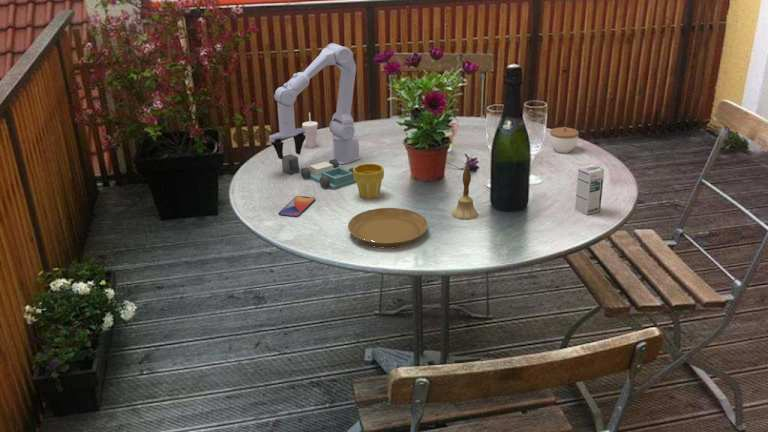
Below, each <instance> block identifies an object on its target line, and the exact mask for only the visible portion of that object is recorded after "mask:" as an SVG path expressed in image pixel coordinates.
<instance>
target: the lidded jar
mask: <svg viewBox="0 0 768 432" xmlns="http://www.w3.org/2000/svg"><path fill="white" fill-rule="evenodd" d="M549 133H550V135H549V140H550V141H549V142H550V145H551V147H552V148H553V149H554V151H555V152H556V153H561V154H568V153H571V151H572V150H573V149H574V148H575V147H576V145H578V144H577V143H578V140H579V139H578V138H579V134H580V133H579V130H577V129H575V128H571V127H566V126H563V127H561V126H560V127H555V128H552V129H550V131H549Z"/></svg>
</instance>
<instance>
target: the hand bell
mask: <svg viewBox="0 0 768 432" xmlns="http://www.w3.org/2000/svg"><path fill="white" fill-rule="evenodd" d="M462 173H463V174H462V184H463V192H462V193H463V194H462V196H460V197H459V198H458V201H457V205H456V207H455V209H453V211H452V212H451V215H452V216H453V218H456V219H459V220H465V221H466V220H473V219H476V218H477V217H478V216H479V212H478V210H476V209H475V206H474V200H473V198H472V197H470V196H469V190H470V184H471V179H472V174H471V171H470V167H468V166H466V167H464V169H463V172H462Z"/></svg>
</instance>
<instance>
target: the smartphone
mask: <svg viewBox="0 0 768 432" xmlns="http://www.w3.org/2000/svg"><path fill="white" fill-rule="evenodd" d="M316 200H317V199H316V197H313V196H303V195H297V196H295V197H293V198H292V200H291V201H289V202H288V203H287V204H286V205H285V206H284V207H283V208H282V209H281V210H280V211H279V212H278V213H277V214H278V216H280V217H288V218H299V217H300V216H302V215H303V214H304V212H306V210H308V209H309V208H310V207H311V206H312V205H313V204H314V203H315V202H316Z"/></svg>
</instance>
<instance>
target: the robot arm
mask: <svg viewBox="0 0 768 432" xmlns="http://www.w3.org/2000/svg"><path fill="white" fill-rule="evenodd" d="M326 66H336V67H338V69H339V70H340V78H339V85H338V86H339V87H338V94H337V103H336V110H335V111H336V112H334V114H333V115H332V117H331V118H332V119H331V121H330V123H329V126H328V129H329V131H330V133H331V134H332V146H333V157H329V161H330V160H332V159H336V160H337V161H338V164H339V165H345V164H348V163H352V162H355V161H359V160H361V157H360V144H359V139H358V138H357V137H356V135H355V132H356V130H355V126H354V119H353V116H352V115H351V114H352V105H353V97H354V91H355V90H354V88H355V81H356V72H357V65H356V62H355V59H354V52H353V51H351V49H350V48H349V47H347V46H342V45H340V44H337V43H336V42H331V43H329V44H327V45H326V47H324V48H322V49H321V52H320V53H319V55H318V56H317V57H316V58H315V59H314V60H313V61H312V62H311V63H310V64H309V65H308V66H307V67H306V68H305V69H304V71H299V72H298V71H297V72H296V73H295V72H294V73H293V75H292V77H291V78H290V79H289V80H288V81H287V82H284V84H283V86H279V87H277V89H276V90H275V93H274V94H273V97H274V100H275V101H276V102H277V115H278V116H277V117H278V129H279V132H275V133H273V134H271V135H269V136H268V140H269V142H270V143H271V145H272V146H273V148H274V150H275V152H276V155H277V157H278V159H280V160H282V159H283V156H284V152H283V149H284V142H282V140H284V139H288V138H291V137H293V140H294V147H295V148H294V149H295V150H294V151H295V154H297V155H302V154H301V152H302V148H303V144H304V141H306V139H305V138H306V137H305V134H306V129H305V128H303V127H298V128H296V123H295V109H294V105H295V104H294V103H295V102H296V101H297V96H298V95H300V94H301V92H303V90H304V89H306V88H307V87H308V86H309V85H310V80H311V78H313V77H314V76H316V74H318V73H319V72H320V71H321V70H323V69H324V68H325V67H326Z"/></svg>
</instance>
